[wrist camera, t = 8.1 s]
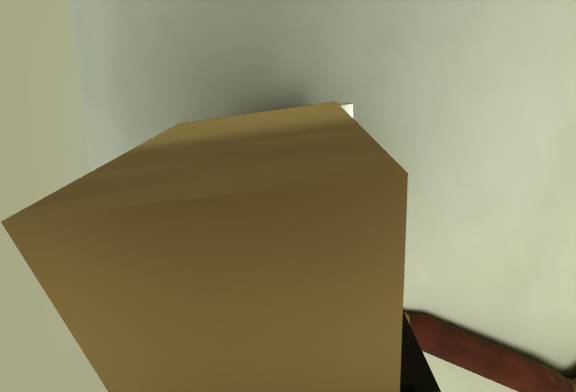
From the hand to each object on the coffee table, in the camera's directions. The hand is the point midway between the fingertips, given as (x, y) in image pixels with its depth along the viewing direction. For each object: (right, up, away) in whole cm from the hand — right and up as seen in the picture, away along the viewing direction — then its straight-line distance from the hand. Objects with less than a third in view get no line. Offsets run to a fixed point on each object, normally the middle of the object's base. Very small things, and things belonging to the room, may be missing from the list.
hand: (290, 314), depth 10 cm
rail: (0, +1, 0) cm, 1 cm away
